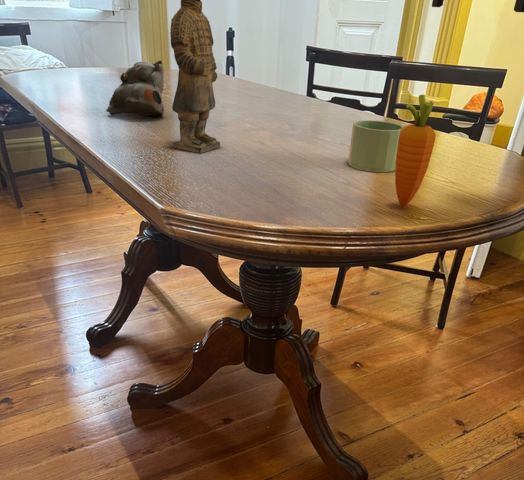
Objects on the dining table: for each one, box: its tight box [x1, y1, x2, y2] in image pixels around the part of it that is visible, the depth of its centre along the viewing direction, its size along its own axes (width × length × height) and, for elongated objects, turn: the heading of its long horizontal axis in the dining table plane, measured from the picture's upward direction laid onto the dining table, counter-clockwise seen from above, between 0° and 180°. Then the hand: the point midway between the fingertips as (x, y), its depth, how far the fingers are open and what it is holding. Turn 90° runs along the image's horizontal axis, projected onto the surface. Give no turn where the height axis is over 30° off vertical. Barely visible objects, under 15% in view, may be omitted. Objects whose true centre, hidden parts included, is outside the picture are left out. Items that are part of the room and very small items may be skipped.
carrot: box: [394, 94, 437, 208], centre depth 72 cm, size 5×5×15 cm
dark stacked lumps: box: [105, 60, 165, 118], centre depth 122 cm, size 15×12×14 cm
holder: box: [347, 119, 404, 173], centre depth 94 cm, size 9×9×7 cm
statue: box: [169, 0, 221, 154], centre depth 92 cm, size 10×8×30 cm
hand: (478, 9), depth 60 cm, fingers open, 9 cm apart
